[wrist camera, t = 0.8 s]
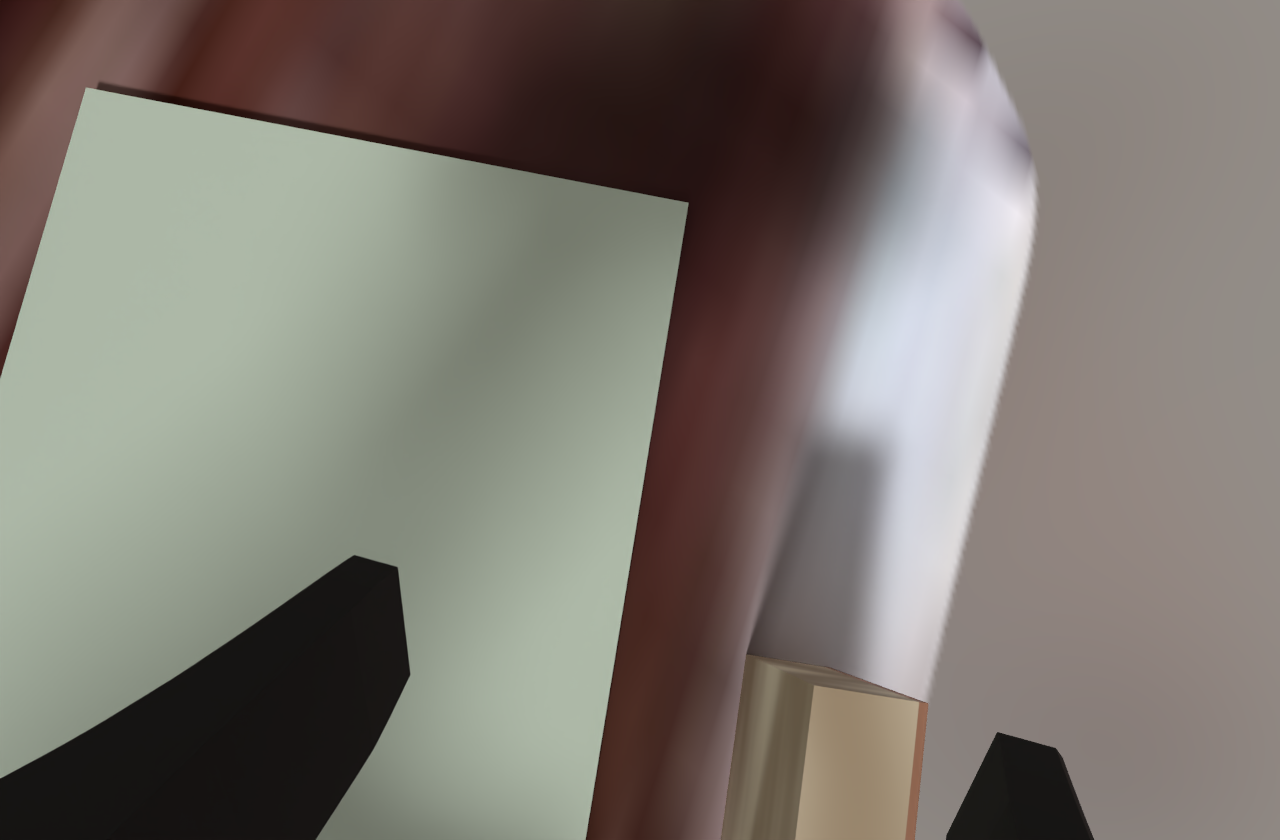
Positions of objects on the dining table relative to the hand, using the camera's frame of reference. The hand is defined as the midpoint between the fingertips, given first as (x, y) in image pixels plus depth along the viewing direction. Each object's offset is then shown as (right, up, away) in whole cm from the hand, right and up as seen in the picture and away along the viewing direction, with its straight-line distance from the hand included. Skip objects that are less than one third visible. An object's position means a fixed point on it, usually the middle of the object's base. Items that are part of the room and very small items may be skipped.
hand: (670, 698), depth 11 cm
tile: (+3, -7, +14) cm, 17 cm away
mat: (-9, +2, +15) cm, 18 cm away
